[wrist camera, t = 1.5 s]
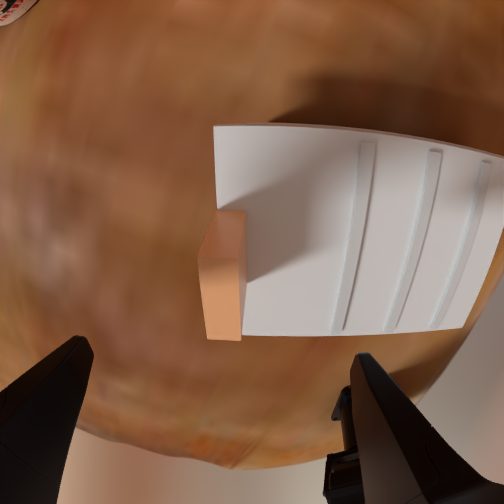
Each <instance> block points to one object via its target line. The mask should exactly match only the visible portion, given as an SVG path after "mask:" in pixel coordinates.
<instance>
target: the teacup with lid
mask: <svg viewBox="0 0 504 504" xmlns="http://www.w3.org/2000/svg"><path fill="white" fill-rule="evenodd" d="M36 1H37V0H0V26H4V25H7V24H9V23H11V22H13V21H15V20H16V19H18V18H19V17H21V16H22V15H23V14H24V13H25V12H26V11H27V10H29V9H30V8H31V6H32V5H33V4H34V3H35V2H36Z"/></svg>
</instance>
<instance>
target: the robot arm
mask: <svg viewBox="0 0 504 504" xmlns="http://www.w3.org/2000/svg"><path fill="white" fill-rule="evenodd" d="M93 359H94V353H93V350H92V348H91V346H90V344H89V342H88V340H87V338H86V337H84V336H78V335H75V336H73V337H72V338H71V339H69V340H68V341H66V342H65V343H64V344H62V345H61V346H60V347H58V348H57V349H56V350H54V351H53V352H52V353H50V354H49V355H48V356H46V357H45V358H44V359H42V360H41V361H40V362H38V363H37V364H36V365H34V366H33V367H32V368H31V369H29V370H28V371H27V372H25V373H24V374H23V375H21V376H20V377H19V378H18V379H16V380H15V381H14V382H12V383H11V384H10V385H8V386H7V387H6V388H5V389H3V390H2V391H1V392H0V504H56V503H57V498H58V494H59V488H60V484H61V479H62V475H63V471H64V467H65V462H66V459H67V455H68V451H69V447H70V443H71V440H72V436H73V433H74V429H75V426H76V422H77V419H78V416H79V413H80V409H81V406H82V403H83V400H84V397H85V393H86V389H87V385H88V380H89V376H90V371H91V367H92V363H93ZM350 382H351V388H346V389H343V390H342V391H341V393H340V396H339V398H338V401H337V403H336V406H335V408H334V411H333V413H332V416H331V420H332V421H339V420H341V426H342V434H343V442H344V450H345V451H342V452H338V453H334V454H333V453H331V454H327V461H326V468H325V479H324V490H323V496H324V497H326V499H327V503H328V504H504V485H502V484H499V483H495V482H492V481H489V480H487V479H486V478H484V477H483V476H481V475H480V474H479V473H478V472H477V471H475V470H474V469H473V468H472V467H471V466H470V465H469V464H468V463H467V462H466V461H465V460H464V459H463V458H462V457H461V456H460V455H458V454H457V453H456V452H455V451H454V450H453V449H452V448H451V447H450V446H449V445H448V443H447V442H446V441H445V440H444V439H443V438H442V437H441V436H440V434H439V433H438V432H437V431H436V430H435V428H434V427H431V424H430V423H429V422H428V420H427V419H426V418H425V417H424V416H423V414H422V413H421V412H420V411H419V410H418V409H417V407H416V406H415V405H414V404H413V403H412V401H411V400H410V399H409V398H408V397H407V396H406V394H405V393H404V392H403V391H402V390H401V389H400V387H399V386H398V384H396V383H395V382H394V381H393V379H392V378H391V377H390V376H389V375H388V374H387V372H386V371H385V370H384V369H383V368H382V367H381V366H380V364H379V363H378V362H377V361H376V360H375V359H374V357H373V356H372V355H371V354H370V353H368V352H364V353H357V354H356V355H355V358H354V361H353V364H352V366H351V369H350Z"/></svg>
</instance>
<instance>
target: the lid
mask: <svg viewBox="0 0 504 504" xmlns="http://www.w3.org/2000/svg"><path fill="white" fill-rule="evenodd" d="M214 152H215V176H216V196H217V210H215V212H214V214H213V217H212V219H211V222H210V224H209V227H208V229H207V232H206V235H205V237H204V240H203V242H202V245H201V248H200V250H199V253H198V256H197V262H198V271H199V279H200V287H201V295H202V303H203V311H204V318H205V325H206V332H207V339H216V340H235V341H241V337H242V335H260V336H348V335H375V334H393V333H409V332H422V331H433V330H444V329H454V328H462V327H463V325H464V323H465V321H466V319H467V317H468V315H469V313H470V311H471V309H472V307H473V304H474V302H475V300H476V298H477V296H478V293H479V291H480V289H481V287H482V284H483V282H484V279H485V277H486V275H487V272H488V270H489V267H490V264H491V262H492V259H493V256H494V254H495V251H496V248H497V245H498V242H499V239H500V236H501V233H502V230H503V227H504V156H502V155H498V154H494V153H491V152H487V151H483V150H479V149H475V148H471V147H467V146H463V145H458V144H454V143H449V142H444V141H439V140H434V139H429V138H423V137H418V136H412V135H406V134H399V133H392V132H385V131H378V130H370V129H361V128H351V127H341V126H329V125H315V124H297V123H262V122H245V123H244V124H216V125H215V126H214Z"/></svg>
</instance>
